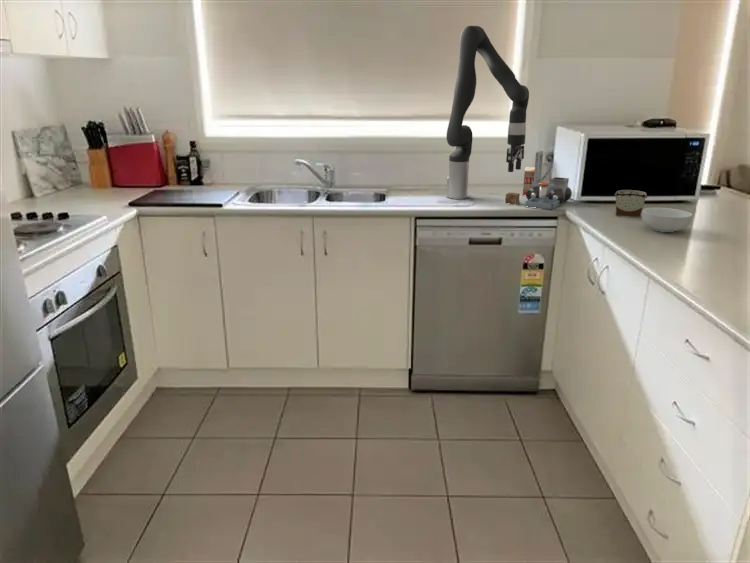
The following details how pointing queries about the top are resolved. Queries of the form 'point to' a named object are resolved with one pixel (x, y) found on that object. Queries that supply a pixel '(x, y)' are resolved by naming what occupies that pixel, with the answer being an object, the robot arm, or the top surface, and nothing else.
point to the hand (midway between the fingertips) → (514, 170)
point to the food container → (629, 202)
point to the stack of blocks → (528, 179)
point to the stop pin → (543, 192)
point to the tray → (542, 204)
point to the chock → (512, 198)
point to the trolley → (556, 185)
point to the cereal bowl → (666, 219)
